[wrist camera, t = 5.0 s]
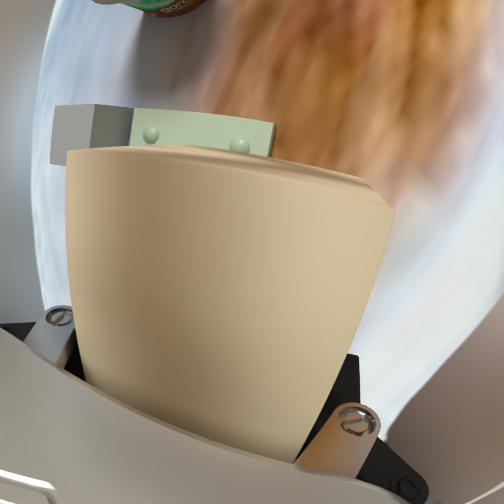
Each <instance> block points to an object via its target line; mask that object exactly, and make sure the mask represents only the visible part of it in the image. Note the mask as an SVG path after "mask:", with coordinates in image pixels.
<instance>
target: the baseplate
mask: <svg viewBox="0 0 504 504" xmlns="http://www.w3.org/2000/svg"><path fill="white" fill-rule="evenodd" d="M275 126H276V124H274V123H270V122H264V121H258V120H252V119H246V118H239V117H232V116H224V115H217V114H208V113H199V112H189V111H178V110H165V109H149V108H135V109H134V116H133V122H132V129H131V136H130V144H129V146H141V145H198V146H205V147H212V148H219V149H225V150H231V151H237V152H243V153H249V154H255V155H260V156H266V157H270V152H271V147H272V142H273V137H274V132H275Z"/></svg>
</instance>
